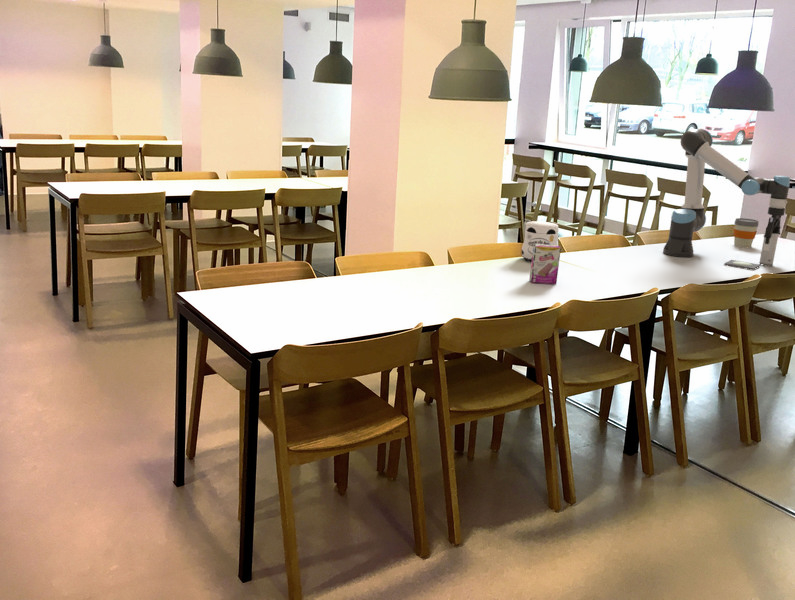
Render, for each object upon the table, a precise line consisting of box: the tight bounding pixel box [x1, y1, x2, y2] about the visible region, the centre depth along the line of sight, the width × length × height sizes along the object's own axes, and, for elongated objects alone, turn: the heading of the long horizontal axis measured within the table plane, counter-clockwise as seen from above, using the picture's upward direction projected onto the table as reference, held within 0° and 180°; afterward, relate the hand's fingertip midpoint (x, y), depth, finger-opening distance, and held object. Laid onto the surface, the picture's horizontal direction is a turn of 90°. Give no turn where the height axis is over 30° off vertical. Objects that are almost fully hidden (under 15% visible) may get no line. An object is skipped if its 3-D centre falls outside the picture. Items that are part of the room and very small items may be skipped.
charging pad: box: [723, 259, 761, 270], centre depth 386 cm, size 14×12×1 cm
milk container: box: [521, 220, 559, 262], centre depth 371 cm, size 17×17×18 cm
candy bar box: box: [528, 244, 562, 285], centre depth 328 cm, size 11×5×16 cm, turn 92°
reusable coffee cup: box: [733, 217, 759, 248], centre depth 438 cm, size 12×13×15 cm
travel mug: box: [759, 226, 781, 267], centre depth 389 cm, size 6×7×20 cm
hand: (769, 248), depth 390 cm, fingers open, 13 cm apart
